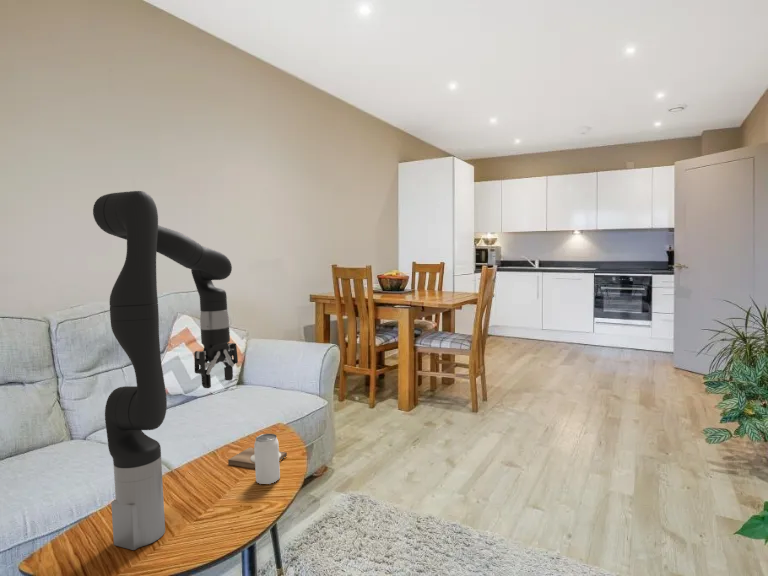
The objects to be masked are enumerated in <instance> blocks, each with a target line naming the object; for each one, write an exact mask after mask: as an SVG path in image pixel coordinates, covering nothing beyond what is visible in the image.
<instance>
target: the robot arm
mask: <svg viewBox="0 0 768 576" xmlns="http://www.w3.org/2000/svg"><path fill="white" fill-rule="evenodd" d="M92 215H93V219H94V222H95V223H96V225H97V226H98V227H99V228H100V229H101V230H102V231H104V233H107V234H109V235H112V236H114V237H117V238H121V239H123V240H126V255H125V261H124V263H123V266H122V268H121V271H120V273H119V275H118V276H117V278H116V280H115V282H114V285H113V287H112V290H111V292H110V294H109V295H110V296H109V315H110V316H109V317H110V328H111V331H112V333H113V335H114V337H115V339H116V340H117V341H116V342H118V344H119V345H120V347H121V348H122V350H123V351H124V353H125V354H126V355H127V357H128V359H129V360H130V362H131V364H132V367H133V369H134V373H135V374H134V375H135V380H136V386H135V385H134V386H133V385H132V386H131V385H130V386H128V385H127V386H120V387H119V386H118V387H117V388H114V390H113V391H112V392H111V393H110V394H109V395H108V397H107V399H106V402H105V407H104V408H105V409H104V420H105V421H104V422H105V430H106V438H107V447H108V451H109V454H110V456H111V457H112V461H113V462H112V463H113V464H112V465H113V475H114V476H113V478H114V479H113V480H114V494H115V499H114V500H112V501H111V506H110V507H111V521H112V522H111V523H112V536H113V539H112V540H113V546H116V547H120V548H124V549H128V550H131V551H135V550H137V549H139V548H141V547H144V546H148V545H150V544H153V543H154V542H156V541H158V540H159V539H160V538H162V537H163V535H165V533H166V523H165V521H166V520H165V519H166V517H165V503H164V502H165V501H164V488H163V487H164V483H163V466H162V465H163V464H162V451H161V450H162V449H161V448H162V447H161V444H160V442H159V441H158V440H156V439H154V438H151V437H150V436H148V435H146V433H145V432H144V431H153V430H156V429H158V428H159V427H160V426H161V425H162V423H164V420H165V418H166V414H167V408H168V406H167V403H168V401H167V390H166V385H165V379H164V378H165V377H164V371H163V365H162V356H161V345H160V342H161V341H160V321H159V319H160V316H159V314H160V313H159V301H158V300H159V299H158V286H157V283H158V282H157V281H158V280H157V253H158V254H160V255H163V256H164V257H166V258H168V259H170V260H172V261H173V262H175V263H177V264H178V265H180V266H182V267H184V268H186V269H189V270H191V275H192V279H193V281H194V284H195V287H196V290H197V292H198V296H199V308H200V310H199V311H200V315H199V323H200V338H201V339H200V340H201V342H200V343H201V344H202V346H203V350H201V351H199V350H196V351H194V359H193V360H194V374H197V375H198V374H199V375H201V386H202V387H203V389H210V388H211V387H212V381H211V372H212V369H213V368H214V367H215V365H216V364H219V363H222V364H223V365H224V368H223V369H224V380H225V381H232V380H233V377H234V371H233V368H234V365H235V364H238V362H239V358H238V350H237V347H238V346H237V343H234V342H233V343H232V342H230V341H231V335H230V320H229V313H228V312H229V311H228V301H227V299H228V297H227V292H226V290H224V289H222V288H219V287H215V285H214V282H213V281H220V280H222V281H223V280H226V279H228V277H229V276H230V275H231V274H232V269H233V267H232V266H233V265H232V263H231V261H230V259H229V258H228V257H227V255H225V254H223V253H222V252H220V251H217V250H215V249H212V248H209V247H206V246H203V245H201V244H200V243H199V242H197V241H196V240H194V239H192V238H191V237H190V236H188V235H186V234H184V233H181V232H179V231H177V230H173V229H171V228H167V227H164V226H161V225H159V215H158V209H157V204H156V203H155V200H154V199H153V197H152V196H151V195H150V194H149V193H147V192H145V191H143V190H133V191H120V192H111V193H107V194H104V195H102V196H100V197H98V198H97V199H96V200H95V202H94V204H93V207H92Z"/></svg>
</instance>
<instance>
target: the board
mask: <svg viewBox="0 0 768 576" xmlns="http://www.w3.org/2000/svg"><path fill="white" fill-rule="evenodd" d="M286 456H287V457H288V453H287V452H285V451H280V450H279V461H280V460H281V459H283V458H284V457H286ZM287 457H286V458H287ZM283 460H284V459H283ZM227 462H228V465H229V466H235V467H242V468H248V469H254V468H255V450H254V447H247V448H246V449H244V450H243V451H241V452H239V453H237V454H235V455H233V456H232V457H230V458H229V459H228V460H227Z"/></svg>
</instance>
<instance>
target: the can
mask: <svg viewBox="0 0 768 576" xmlns="http://www.w3.org/2000/svg"><path fill="white" fill-rule="evenodd" d="M253 445H254V447H253V448H254V450H255V469H254V470H255V481H256V483H257V484H258V483H259V485H261V484H269V485H272V484H271V483H273V484H275V483H277V482H278V481H279V480H280V478H281V470H280V462H279V451H280V446H279V445H280V444H279V440H278V438H277V434H274V433H263V434H260V435H258V436H256V437H255V441H254V444H253ZM277 480H278V481H277ZM276 481H277V482H276ZM274 482H275V483H274Z"/></svg>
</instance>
